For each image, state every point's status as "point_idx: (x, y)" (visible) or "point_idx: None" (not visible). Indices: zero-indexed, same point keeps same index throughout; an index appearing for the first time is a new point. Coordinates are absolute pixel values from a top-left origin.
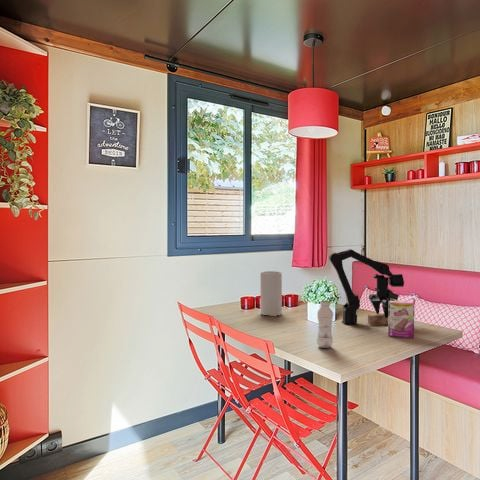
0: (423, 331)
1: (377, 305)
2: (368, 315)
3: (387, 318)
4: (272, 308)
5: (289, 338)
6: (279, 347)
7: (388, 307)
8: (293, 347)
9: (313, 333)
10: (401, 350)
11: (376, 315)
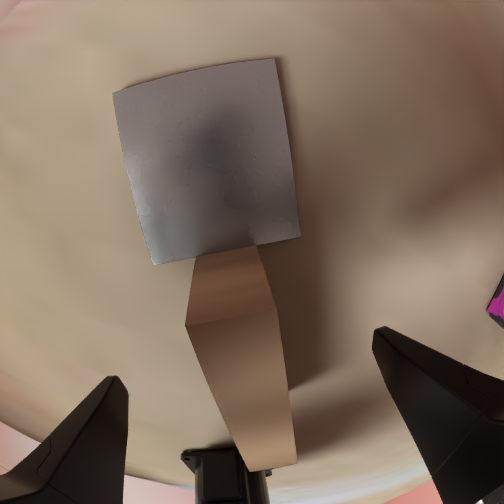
0: (478, 31)
1: (87, 494)
2: (263, 467)
3: (265, 282)
4: None
5: (379, 499)
6: (418, 486)
7: (500, 441)
8: (430, 476)
9: (360, 493)
10: None
11: (286, 432)
